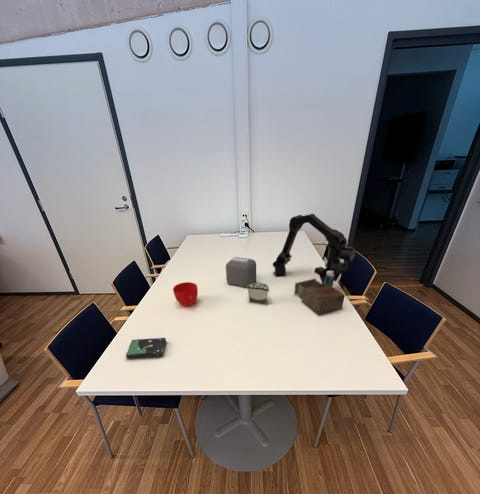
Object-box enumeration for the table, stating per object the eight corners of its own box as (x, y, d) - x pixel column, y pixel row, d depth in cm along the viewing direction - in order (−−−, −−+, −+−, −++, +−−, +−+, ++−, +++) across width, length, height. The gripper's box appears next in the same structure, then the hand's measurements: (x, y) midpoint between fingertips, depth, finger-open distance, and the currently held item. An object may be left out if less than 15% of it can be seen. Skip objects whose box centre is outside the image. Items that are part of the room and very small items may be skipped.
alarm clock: (256, 281, 168) (256, 258, 159) (249, 289, 159) (248, 264, 151) (233, 277, 174) (232, 254, 165) (225, 284, 165) (223, 261, 156)
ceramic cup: (182, 315, 138) (179, 298, 132) (173, 301, 150) (170, 285, 145) (205, 308, 142) (203, 292, 137) (194, 295, 155) (192, 280, 149)
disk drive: (166, 342, 120) (133, 344, 119) (165, 337, 118) (131, 339, 117) (162, 357, 111) (126, 359, 110) (161, 352, 110) (125, 354, 109)
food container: (271, 299, 148) (271, 283, 142) (268, 305, 143) (269, 288, 138) (250, 296, 152) (250, 281, 146) (247, 302, 147) (246, 285, 141)
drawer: (290, 290, 154) (291, 280, 151) (309, 286, 158) (310, 275, 155) (308, 305, 140) (310, 294, 136) (329, 299, 144) (331, 288, 140)
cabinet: (301, 301, 145) (303, 288, 140) (323, 296, 149) (325, 282, 145) (318, 315, 133) (321, 301, 128) (341, 309, 137) (344, 294, 133)
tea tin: (325, 292, 153) (327, 276, 147) (321, 288, 157) (324, 273, 151) (333, 291, 153) (336, 275, 148) (329, 287, 157) (332, 272, 152)
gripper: (328, 264, 135) (324, 292, 143) (357, 258, 140) (351, 285, 149) (315, 257, 143) (312, 283, 152) (343, 252, 149) (338, 277, 158)
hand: (328, 282), depth 152 cm, fingers open, 8 cm apart
